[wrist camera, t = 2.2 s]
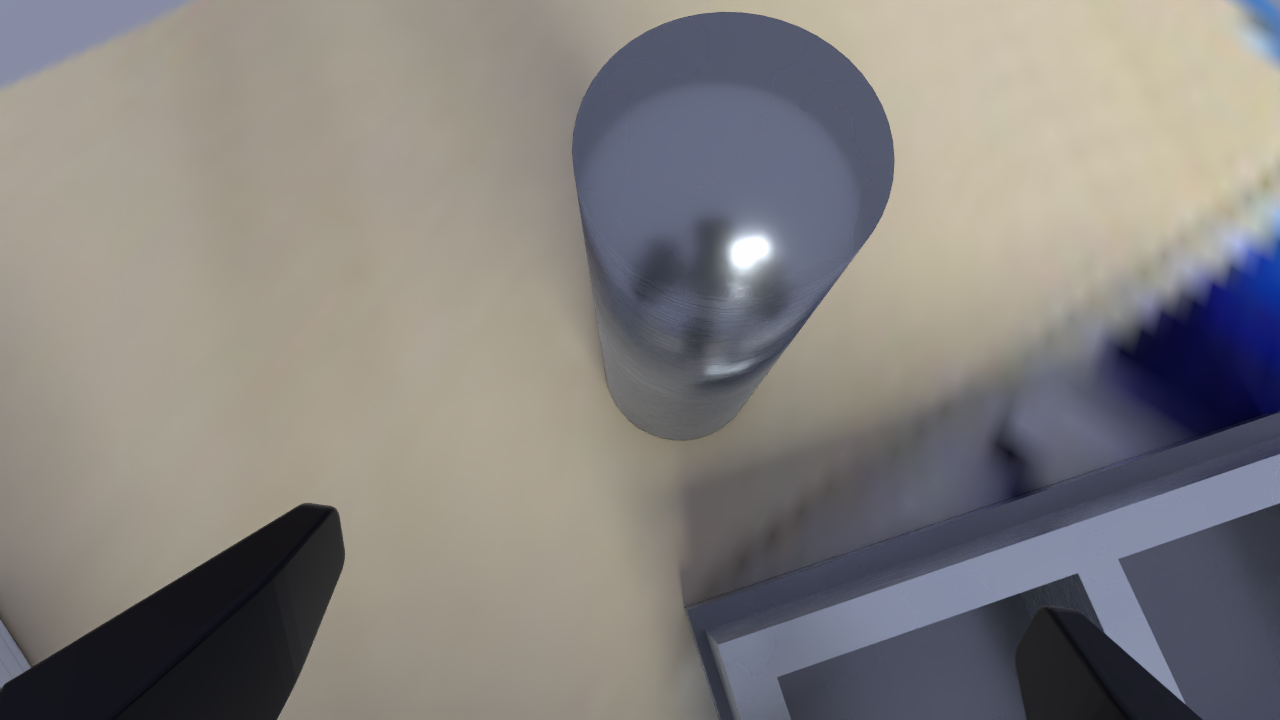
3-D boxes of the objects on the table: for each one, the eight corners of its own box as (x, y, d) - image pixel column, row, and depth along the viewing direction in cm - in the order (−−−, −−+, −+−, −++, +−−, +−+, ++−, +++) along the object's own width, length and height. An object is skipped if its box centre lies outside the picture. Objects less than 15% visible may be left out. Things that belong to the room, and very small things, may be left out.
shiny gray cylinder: (630, 459, 21) (627, 340, 9) (587, 321, 22) (535, 55, 10) (773, 414, 21) (946, 245, 9) (724, 280, 22) (825, -20, 11)
